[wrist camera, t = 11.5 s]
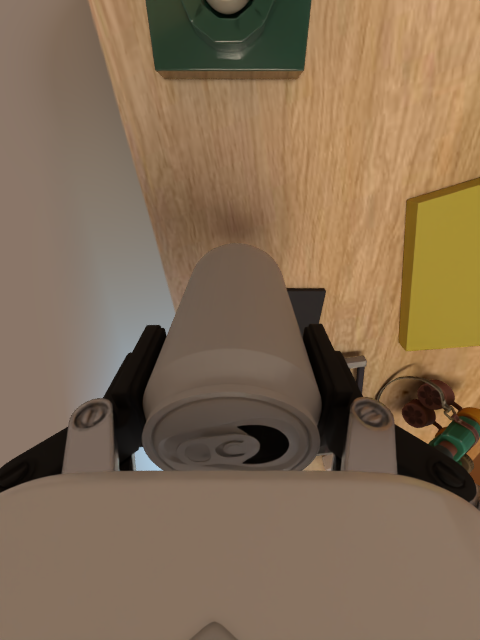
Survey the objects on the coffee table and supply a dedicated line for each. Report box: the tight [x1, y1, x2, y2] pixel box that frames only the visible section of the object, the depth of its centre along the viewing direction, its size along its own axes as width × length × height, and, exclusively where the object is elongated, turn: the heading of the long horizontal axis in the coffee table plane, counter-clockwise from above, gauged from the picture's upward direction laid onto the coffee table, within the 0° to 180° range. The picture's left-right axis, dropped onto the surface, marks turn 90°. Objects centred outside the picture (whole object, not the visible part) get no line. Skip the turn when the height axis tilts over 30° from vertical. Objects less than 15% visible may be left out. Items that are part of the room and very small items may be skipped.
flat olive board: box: [399, 178, 480, 351], centre depth 33 cm, size 12×2×24 cm
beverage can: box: [142, 243, 322, 471], centre depth 13 cm, size 6×6×12 cm
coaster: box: [286, 288, 326, 339], centre depth 37 cm, size 11×11×1 cm
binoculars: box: [377, 376, 480, 473], centre depth 41 cm, size 14×14×15 cm
